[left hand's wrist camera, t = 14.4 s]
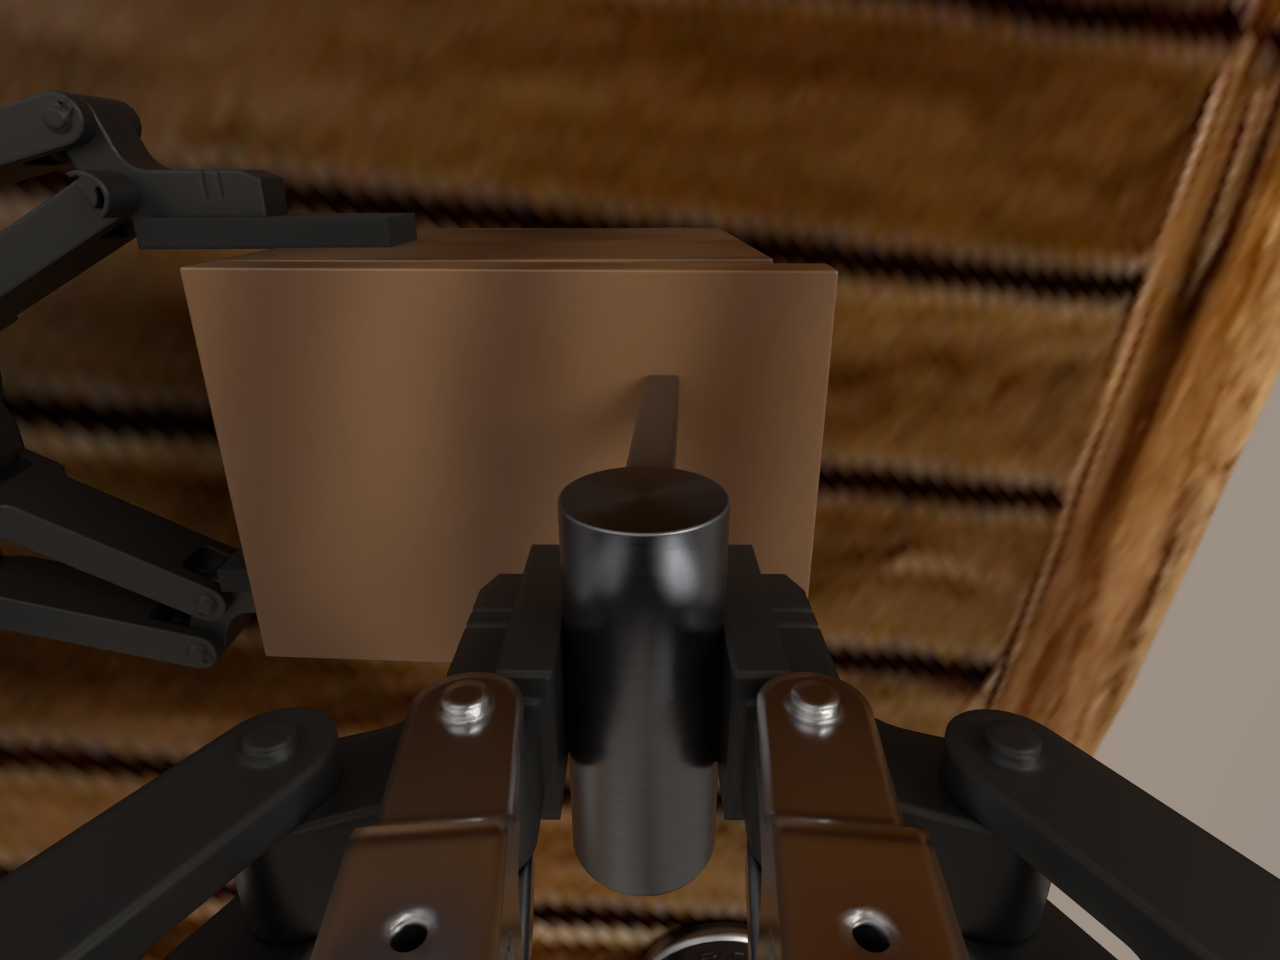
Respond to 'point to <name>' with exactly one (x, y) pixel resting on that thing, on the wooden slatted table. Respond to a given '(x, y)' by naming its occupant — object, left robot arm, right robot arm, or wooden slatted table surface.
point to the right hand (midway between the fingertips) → (423, 408)
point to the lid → (529, 484)
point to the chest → (540, 247)
